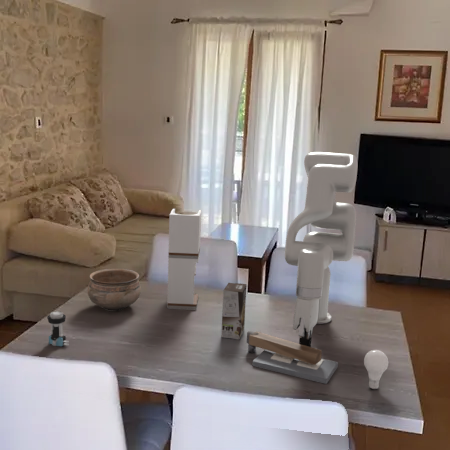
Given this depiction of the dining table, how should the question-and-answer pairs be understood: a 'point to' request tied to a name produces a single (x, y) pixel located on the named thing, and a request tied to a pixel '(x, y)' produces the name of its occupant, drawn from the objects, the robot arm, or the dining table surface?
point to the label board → (296, 366)
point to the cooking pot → (114, 288)
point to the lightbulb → (375, 366)
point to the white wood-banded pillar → (183, 259)
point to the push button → (56, 328)
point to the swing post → (251, 349)
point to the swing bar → (284, 347)
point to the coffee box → (233, 310)
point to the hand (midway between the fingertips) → (304, 349)
